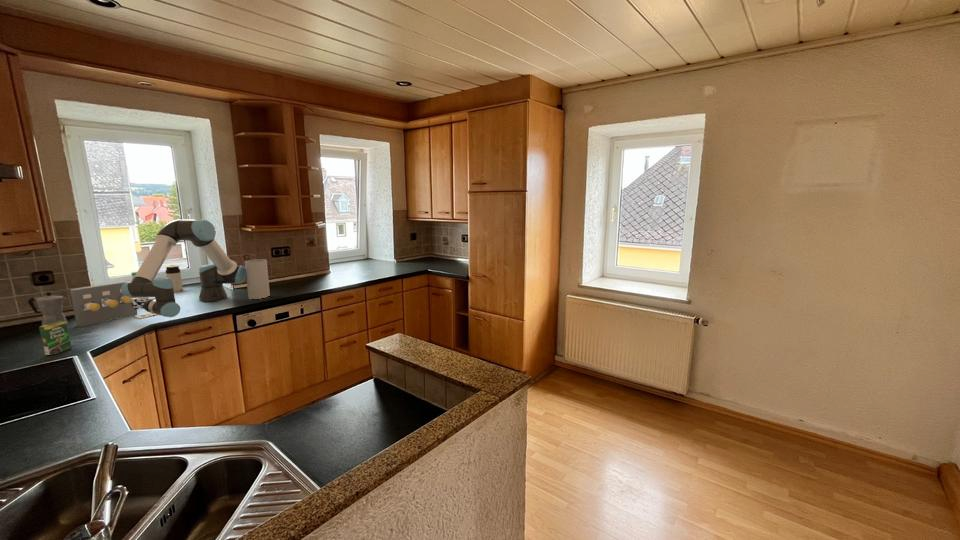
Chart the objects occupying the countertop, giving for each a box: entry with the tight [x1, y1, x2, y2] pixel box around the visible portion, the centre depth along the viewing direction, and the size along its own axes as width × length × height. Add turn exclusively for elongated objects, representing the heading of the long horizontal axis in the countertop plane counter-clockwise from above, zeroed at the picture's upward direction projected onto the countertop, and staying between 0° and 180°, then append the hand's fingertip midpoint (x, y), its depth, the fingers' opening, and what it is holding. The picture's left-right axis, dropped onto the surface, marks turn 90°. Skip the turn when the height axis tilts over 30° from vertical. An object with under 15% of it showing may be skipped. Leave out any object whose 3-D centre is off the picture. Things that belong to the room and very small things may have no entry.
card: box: [133, 312, 159, 320], centre depth 215 cm, size 6×11×1 cm, turn 155°
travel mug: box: [165, 264, 184, 293], centre depth 268 cm, size 8×8×18 cm
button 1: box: [82, 301, 100, 311], centre depth 197 cm, size 7×4×4 cm, turn 65°
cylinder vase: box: [244, 258, 271, 300], centre depth 254 cm, size 12×12×25 cm
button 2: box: [119, 295, 131, 303], centre depth 212 cm, size 7×4×4 cm, turn 65°
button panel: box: [69, 280, 138, 328], centre depth 205 cm, size 4×24×19 cm, turn 155°
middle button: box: [102, 298, 118, 308], centre depth 203 cm, size 7×4×4 cm, turn 65°
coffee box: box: [38, 321, 73, 356], centre depth 163 cm, size 8×3×13 cm, turn 171°
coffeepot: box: [27, 291, 69, 326], centre depth 194 cm, size 15×9×18 cm, turn 104°
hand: (132, 300), depth 208 cm, fingers closed
